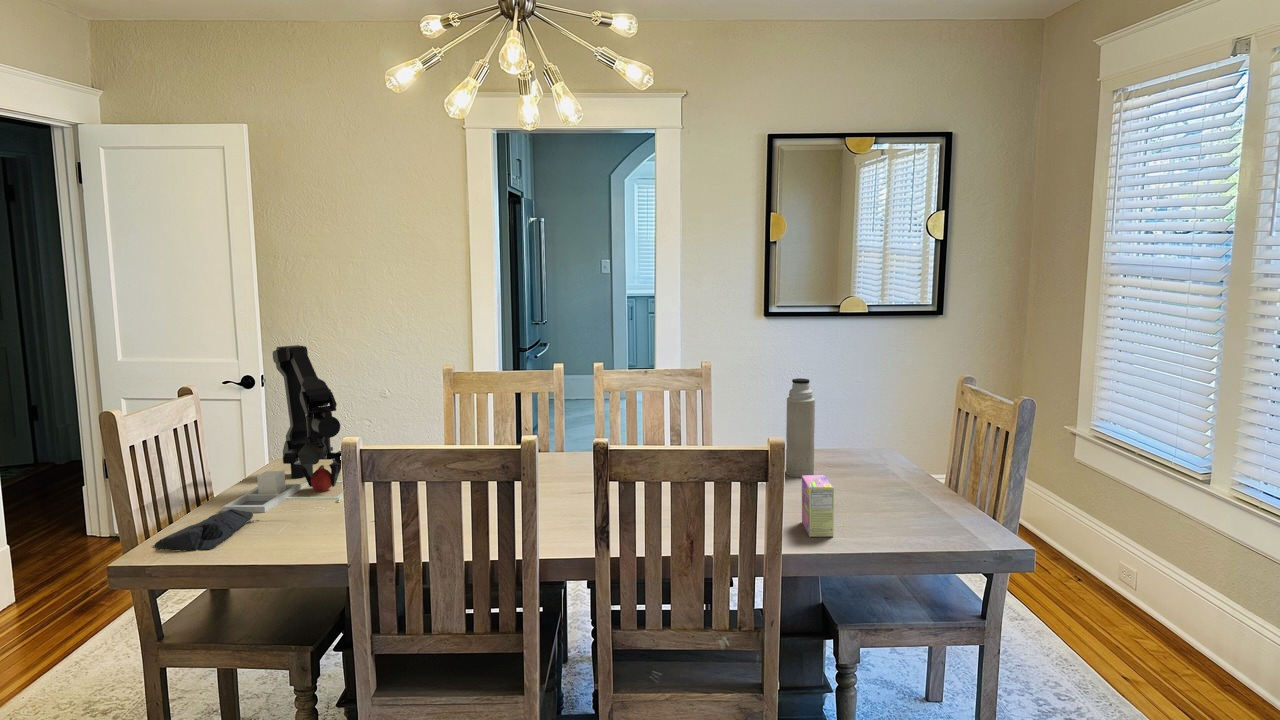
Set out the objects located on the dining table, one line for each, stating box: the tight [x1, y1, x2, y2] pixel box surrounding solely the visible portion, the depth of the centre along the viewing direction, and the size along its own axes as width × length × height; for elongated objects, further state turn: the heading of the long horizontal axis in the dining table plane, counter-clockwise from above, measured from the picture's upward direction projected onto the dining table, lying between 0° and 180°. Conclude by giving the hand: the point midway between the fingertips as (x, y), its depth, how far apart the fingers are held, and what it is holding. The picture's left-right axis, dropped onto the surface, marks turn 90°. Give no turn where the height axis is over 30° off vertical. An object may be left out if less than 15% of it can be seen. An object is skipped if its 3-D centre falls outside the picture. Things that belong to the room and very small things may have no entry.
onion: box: [311, 464, 332, 493], centre depth 223 cm, size 6×6×8 cm
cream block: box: [256, 470, 286, 494], centre depth 219 cm, size 5×5×6 cm
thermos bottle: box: [785, 378, 816, 478], centre depth 234 cm, size 8×8×28 cm
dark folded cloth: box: [153, 509, 254, 552], centre depth 192 cm, size 15×22×5 cm
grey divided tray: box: [221, 483, 302, 514], centre depth 215 cm, size 20×11×2 cm, turn 177°
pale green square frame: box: [285, 480, 344, 503], centre depth 223 cm, size 16×16×1 cm
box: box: [801, 474, 835, 538], centre depth 189 cm, size 10×6×12 cm, turn 178°
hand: (322, 486), depth 223 cm, fingers closed on onion, 6 cm apart
